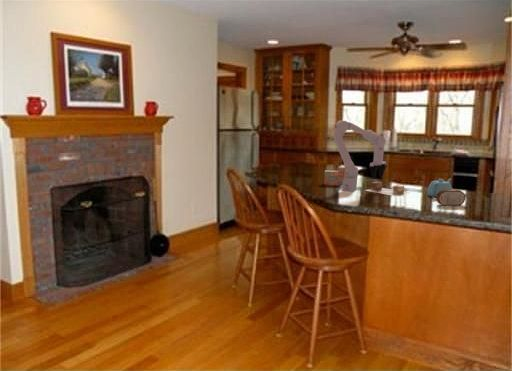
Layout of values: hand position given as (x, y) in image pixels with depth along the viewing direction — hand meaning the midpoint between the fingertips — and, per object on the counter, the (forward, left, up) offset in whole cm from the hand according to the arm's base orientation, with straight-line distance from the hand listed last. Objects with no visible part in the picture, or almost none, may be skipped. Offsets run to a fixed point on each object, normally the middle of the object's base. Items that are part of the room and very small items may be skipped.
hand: (377, 176), depth 274 cm
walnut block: (0, 0, -8) cm, 8 cm away
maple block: (-4, -15, -8) cm, 18 cm away
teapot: (+5, -37, -9) cm, 38 cm away
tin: (-16, -47, -9) cm, 51 cm away
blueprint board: (-2, -8, -9) cm, 12 cm away
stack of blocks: (+5, +27, -9) cm, 29 cm away
